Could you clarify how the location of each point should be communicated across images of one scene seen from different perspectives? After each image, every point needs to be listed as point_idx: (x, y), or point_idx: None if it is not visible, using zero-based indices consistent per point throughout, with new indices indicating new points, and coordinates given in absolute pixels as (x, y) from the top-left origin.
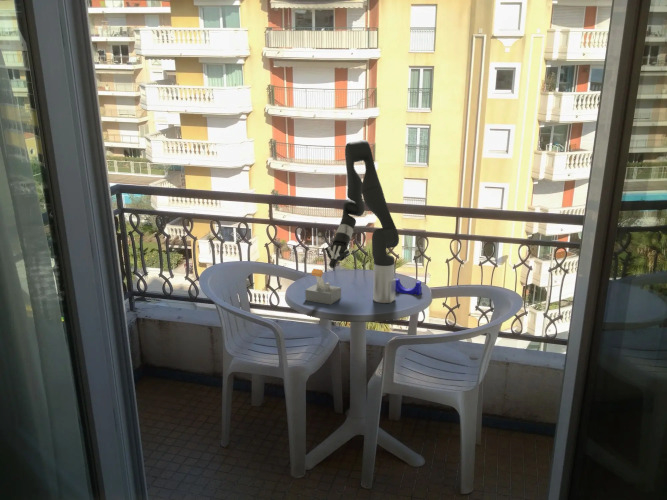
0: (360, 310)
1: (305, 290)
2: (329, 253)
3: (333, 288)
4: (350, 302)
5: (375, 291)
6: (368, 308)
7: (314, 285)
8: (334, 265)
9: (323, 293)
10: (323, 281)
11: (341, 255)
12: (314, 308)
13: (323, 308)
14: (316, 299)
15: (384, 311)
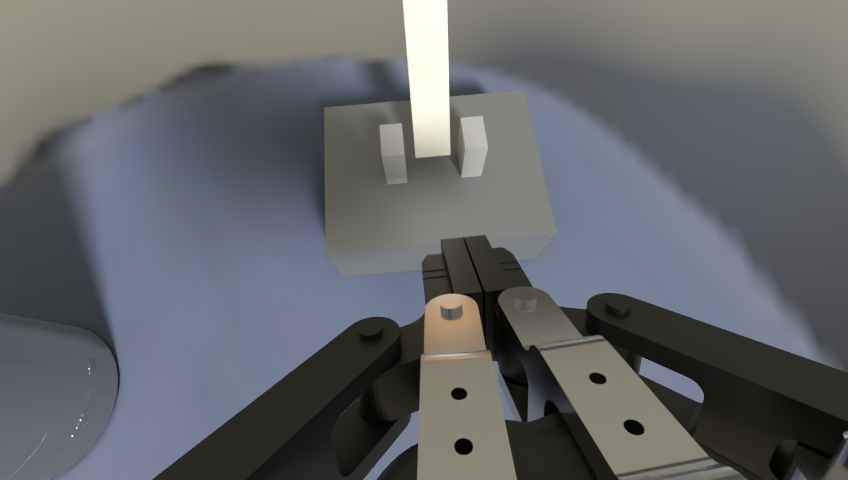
0: (146, 156)
1: (522, 93)
2: (676, 348)
3: (367, 205)
4: (250, 238)
5: (21, 319)
6: (109, 204)
7: (537, 192)
8: (425, 265)
9: (383, 106)
10: (411, 100)
11: (329, 374)
12: (388, 68)
13: (347, 88)
14: None
15: (4, 209)
